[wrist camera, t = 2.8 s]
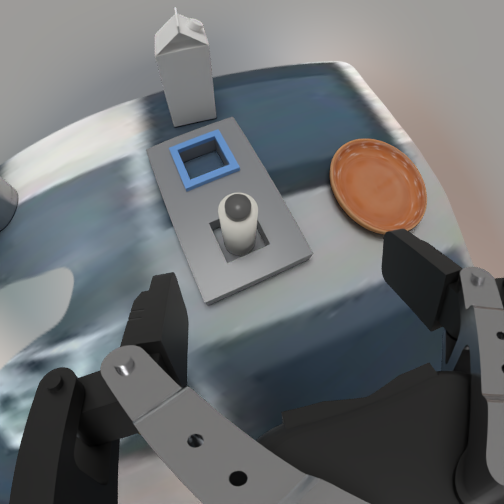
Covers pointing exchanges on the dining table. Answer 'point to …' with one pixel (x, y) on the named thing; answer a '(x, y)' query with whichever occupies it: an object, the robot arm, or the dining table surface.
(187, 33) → the milk carton
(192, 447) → the robot arm
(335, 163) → the saucer
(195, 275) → the block with square holes
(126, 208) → the dining table surface
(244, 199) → the capped white bottle
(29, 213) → the dining table surface
